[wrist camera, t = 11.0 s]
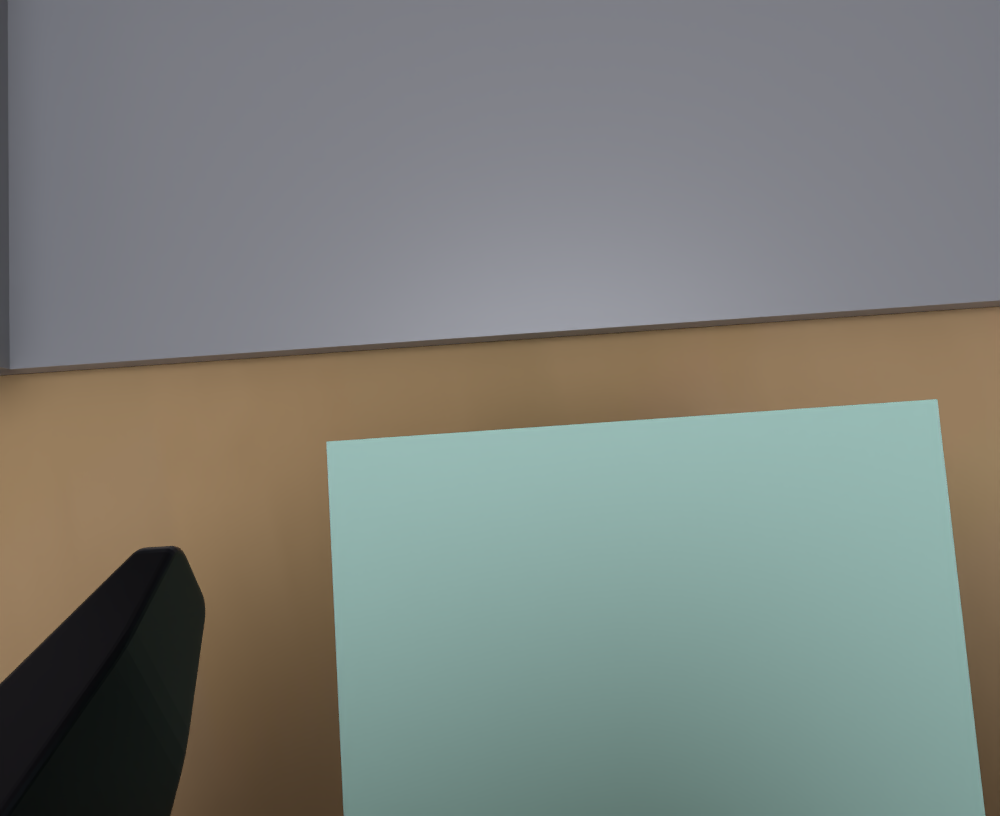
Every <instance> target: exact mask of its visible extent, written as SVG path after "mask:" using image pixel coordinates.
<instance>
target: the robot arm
mask: <svg viewBox="0 0 1000 816" xmlns="http://www.w3.org/2000/svg"><path fill="white" fill-rule="evenodd" d="M204 621H205V603H204V598H203V595H202V592H201V590H200V588H199V585H198V583H197V581H196V578H195V576H194V574H193V572H192V569H191V567H190V565H189V563H188V560H187V558H186V556H185V554H184V552H183V551H182V550H181V549H180V548H178V547H175V546H164V547H147V548H142V549H139V550H138V551H136V552H134V553H133V554H132V555H131V556H130V557H129V558H128V559H127V560H126V561H125V562H124V563H123V564H122V565H121V566H120V567H119V568H118V569H117V570H116V571H115V572H114V573H113V574H112V575H111V576H110V577H109V578H108V579H107V580H106V581H104V582H103V583H102V584H101V585H100V586H99V587H98V588H97V589H96V590H95V591H94V592H93V593H92V594H91V595H90V596H89V597H88V598H87V599H86V600H85V601H84V602H83V603H82V604H81V605H80V606H79V607H78V608H77V609H76V610H75V611H74V612H73V613H72V614H71V615H70V616H69V617H68V618H67V619H66V620H65V621H64V622H63V623H62V624H61V625H60V626H59V627H58V628H57V629H56V630H55V631H54V632H53V633H52V634H50V635H49V636H48V637H47V638H46V639H45V640H44V641H43V642H42V643H41V644H40V645H39V646H38V647H37V648H36V649H35V650H34V651H33V652H32V653H31V654H30V655H29V656H28V657H27V658H26V659H25V660H24V661H23V662H22V663H21V664H20V665H19V666H18V667H17V668H16V669H15V670H14V671H13V672H12V673H11V674H10V675H9V676H8V677H7V678H6V679H5V680H4V681H3V682H2V683H1V684H0V816H170V815H171V811H172V807H173V803H174V799H175V795H176V791H177V788H178V784H179V780H180V776H181V771H182V767H183V763H184V758H185V754H186V748H187V742H188V736H189V729H190V722H191V715H192V708H193V700H194V693H195V686H196V679H197V672H198V665H199V657H200V650H201V643H202V636H203V629H204Z"/></svg>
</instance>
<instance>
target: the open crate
mask: <svg viewBox="0 0 1000 816" xmlns="http://www.w3.org/2000/svg"><path fill="white" fill-rule="evenodd" d="M995 306H1000V0H0V375H13V374H28V373H42V372H56V371H71V370H85V369H100V368H114V367H129V366H143V365H158V364H172V363H186V362H201V361H215V360H230V359H244V358H259V357H273V356H287V355H302V354H316V353H331V352H345V351H360V350H374V349H388V348H403V347H417V346H432V345H446V344H461V343H475V342H490V341H504V340H518V339H533V338H547V337H562V336H576V335H591V334H605V333H619V332H634V331H648V330H663V329H677V328H692V327H706V326H720V325H735V324H749V323H764V322H778V321H793V320H807V319H822V318H836V317H850V316H865V315H879V314H894V313H908V312H923V311H937V310H951V309H966V308H980V307H995Z"/></svg>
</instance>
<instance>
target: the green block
mask: <svg viewBox="0 0 1000 816" xmlns="http://www.w3.org/2000/svg"><path fill="white" fill-rule="evenodd" d="M327 463H328V485H329V507H330V529H331V550H332V572H333V594H334V616H335V637H336V659H337V681H338V703H339V725H340V746H341V768H342V790H343V812H344V816H985V809H984V800H983V792H982V783H981V774H980V766H979V757H978V748H977V740H976V731H975V722H974V714H973V705H972V696H971V688H970V679H969V670H968V662H967V653H966V644H965V636H964V627H963V618H962V610H961V601H960V592H959V584H958V575H957V566H956V558H955V549H954V540H953V532H952V523H951V514H950V506H949V497H948V488H947V480H946V471H945V462H944V454H943V445H942V436H941V428H940V419H939V410H938V402H937V399H934V400H920V401H906V402H891V403H877V404H862V405H848V406H834V407H819V408H805V409H790V410H776V411H762V412H747V413H733V414H719V415H704V416H690V417H675V418H661V419H647V420H632V421H618V422H603V423H589V424H575V425H560V426H546V427H532V428H517V429H503V430H488V431H474V432H460V433H445V434H431V435H416V436H402V437H388V438H373V439H359V440H344V441H330V442H327Z"/></svg>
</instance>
